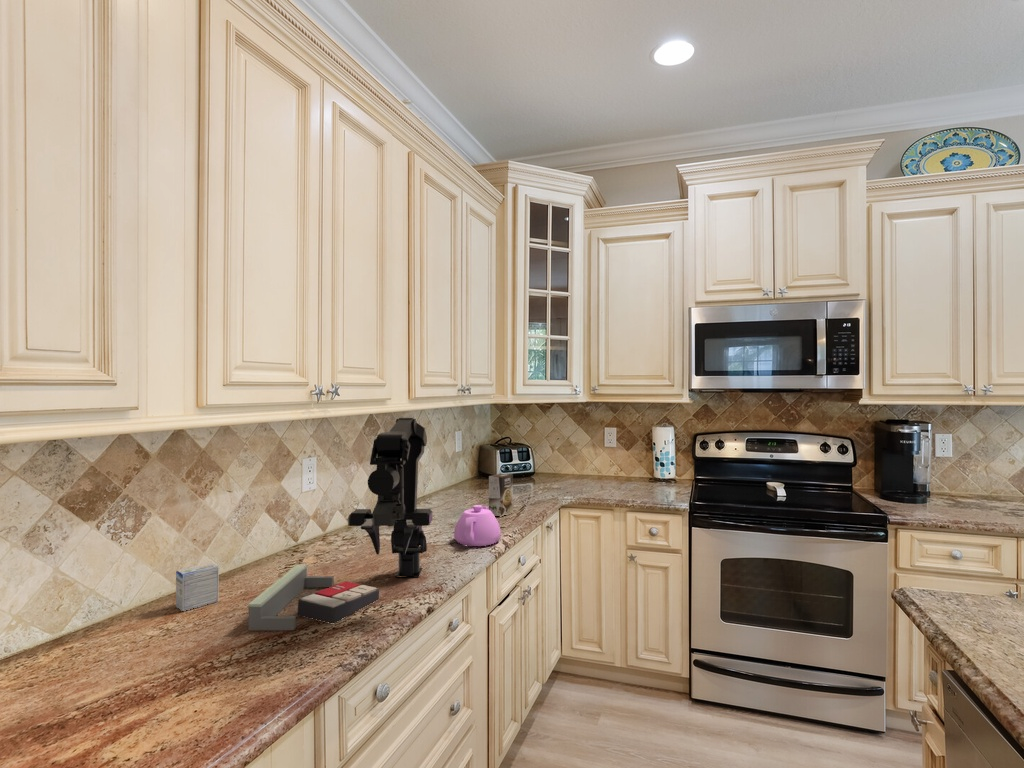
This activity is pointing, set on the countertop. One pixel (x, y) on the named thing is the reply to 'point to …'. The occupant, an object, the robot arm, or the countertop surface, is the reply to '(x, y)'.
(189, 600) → the medicine box
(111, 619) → the countertop surface
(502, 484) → the coffee box
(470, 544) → the teapot
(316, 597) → the calculator
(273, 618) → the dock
